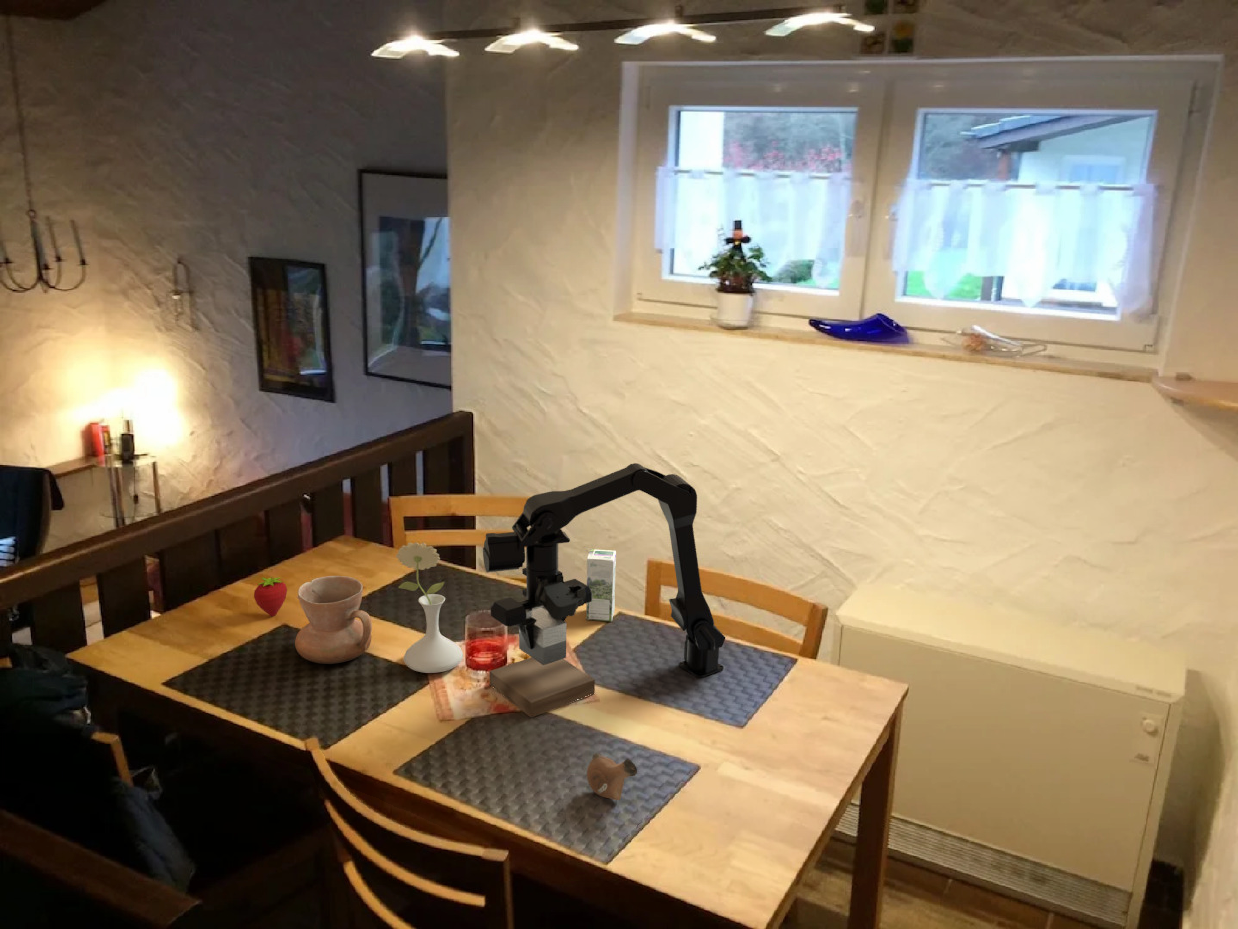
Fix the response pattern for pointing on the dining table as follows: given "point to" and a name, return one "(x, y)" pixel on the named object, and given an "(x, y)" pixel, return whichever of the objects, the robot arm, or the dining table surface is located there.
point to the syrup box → (601, 584)
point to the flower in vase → (428, 617)
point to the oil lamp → (609, 776)
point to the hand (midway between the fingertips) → (542, 644)
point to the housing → (546, 638)
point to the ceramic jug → (333, 620)
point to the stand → (541, 684)
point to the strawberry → (270, 595)
